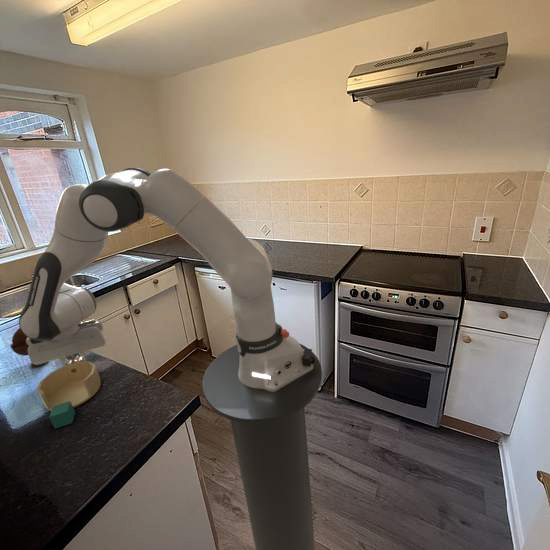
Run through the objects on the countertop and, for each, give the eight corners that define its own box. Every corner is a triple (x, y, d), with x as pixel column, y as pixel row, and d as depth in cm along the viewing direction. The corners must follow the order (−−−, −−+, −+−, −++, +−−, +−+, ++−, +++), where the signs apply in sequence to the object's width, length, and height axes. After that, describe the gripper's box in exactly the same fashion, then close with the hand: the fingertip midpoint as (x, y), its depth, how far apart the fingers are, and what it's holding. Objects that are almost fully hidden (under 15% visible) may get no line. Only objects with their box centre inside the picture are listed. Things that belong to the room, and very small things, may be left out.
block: (70, 400, 79) (67, 411, 76) (75, 412, 81) (72, 422, 77) (52, 406, 78) (48, 417, 75) (58, 417, 79) (54, 429, 76)
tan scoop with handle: (104, 360, 102) (99, 345, 100) (98, 399, 84) (91, 382, 82) (57, 374, 98) (50, 358, 95) (39, 419, 79) (30, 401, 77)
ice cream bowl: (66, 355, 107) (50, 319, 101) (32, 375, 98) (13, 337, 92) (48, 350, 111) (33, 315, 106) (14, 369, 102) (-5, 331, 97)
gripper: (100, 314, 98) (113, 349, 103) (25, 332, 91) (43, 369, 96) (98, 322, 92) (111, 359, 97) (18, 342, 85) (37, 381, 90)
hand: (77, 364), depth 96 cm, fingers closed on tan scoop with handle, 2 cm apart
